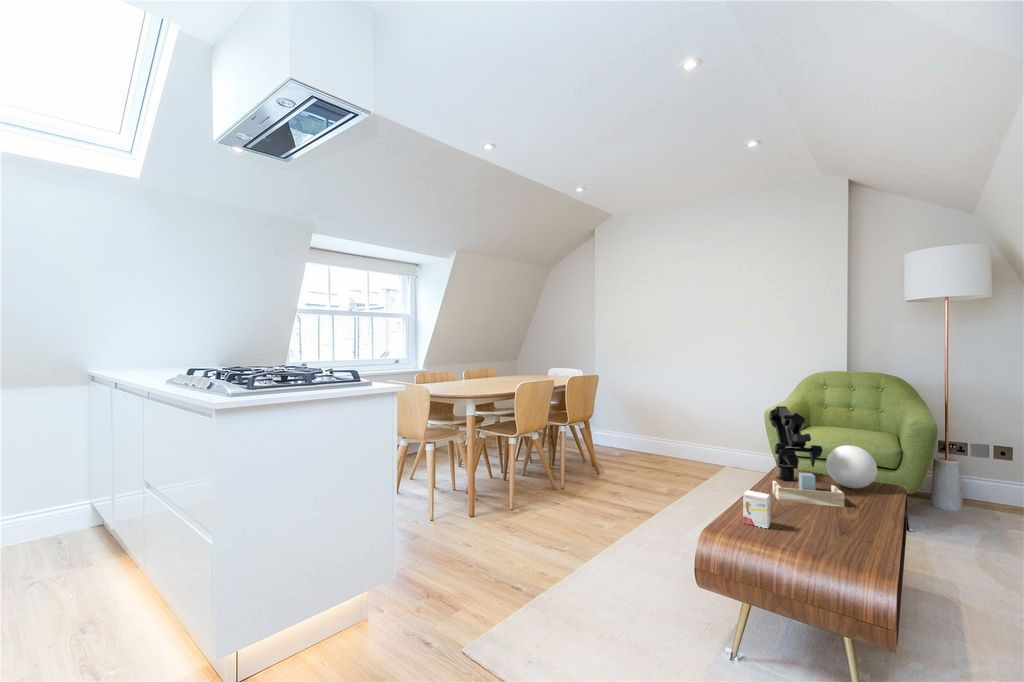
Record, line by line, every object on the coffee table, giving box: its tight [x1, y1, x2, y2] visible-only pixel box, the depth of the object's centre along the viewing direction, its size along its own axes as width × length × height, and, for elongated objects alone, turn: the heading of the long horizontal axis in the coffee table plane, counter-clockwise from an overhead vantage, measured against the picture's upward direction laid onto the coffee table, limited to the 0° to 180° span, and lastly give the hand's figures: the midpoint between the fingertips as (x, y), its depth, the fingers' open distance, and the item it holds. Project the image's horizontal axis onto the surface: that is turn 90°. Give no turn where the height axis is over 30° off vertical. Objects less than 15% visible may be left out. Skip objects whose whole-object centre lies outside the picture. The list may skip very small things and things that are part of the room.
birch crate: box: [772, 480, 845, 508], centre depth 204 cm, size 12×24×6 cm, turn 72°
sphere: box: [825, 444, 878, 489], centre depth 223 cm, size 20×20×20 cm
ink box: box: [742, 489, 771, 530], centre depth 176 cm, size 9×5×12 cm, turn 50°
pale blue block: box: [798, 472, 816, 490], centre depth 204 cm, size 5×5×11 cm
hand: (801, 465), depth 211 cm, fingers open, 9 cm apart
